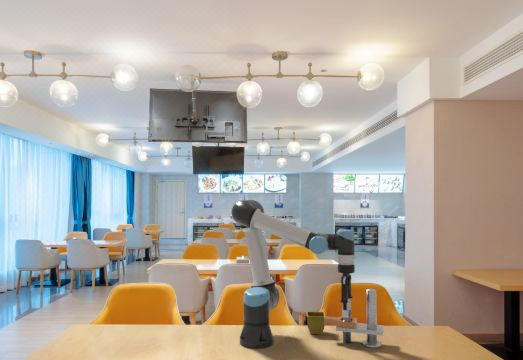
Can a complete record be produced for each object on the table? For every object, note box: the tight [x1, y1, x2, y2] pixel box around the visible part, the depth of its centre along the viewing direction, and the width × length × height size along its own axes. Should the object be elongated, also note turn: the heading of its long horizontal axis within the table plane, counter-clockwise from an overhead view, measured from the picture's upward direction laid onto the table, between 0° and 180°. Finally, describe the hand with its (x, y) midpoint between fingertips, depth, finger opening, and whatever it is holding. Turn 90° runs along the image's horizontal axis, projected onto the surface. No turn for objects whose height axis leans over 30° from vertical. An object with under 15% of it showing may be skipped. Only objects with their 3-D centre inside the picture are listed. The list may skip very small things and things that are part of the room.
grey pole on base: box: [324, 288, 385, 349], centre depth 188 cm, size 26×10×24 cm, turn 70°
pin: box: [342, 309, 353, 344], centre depth 188 cm, size 5×5×14 cm
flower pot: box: [306, 311, 326, 335], centre depth 201 cm, size 9×9×9 cm
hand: (346, 314), depth 189 cm, fingers open, 7 cm apart
